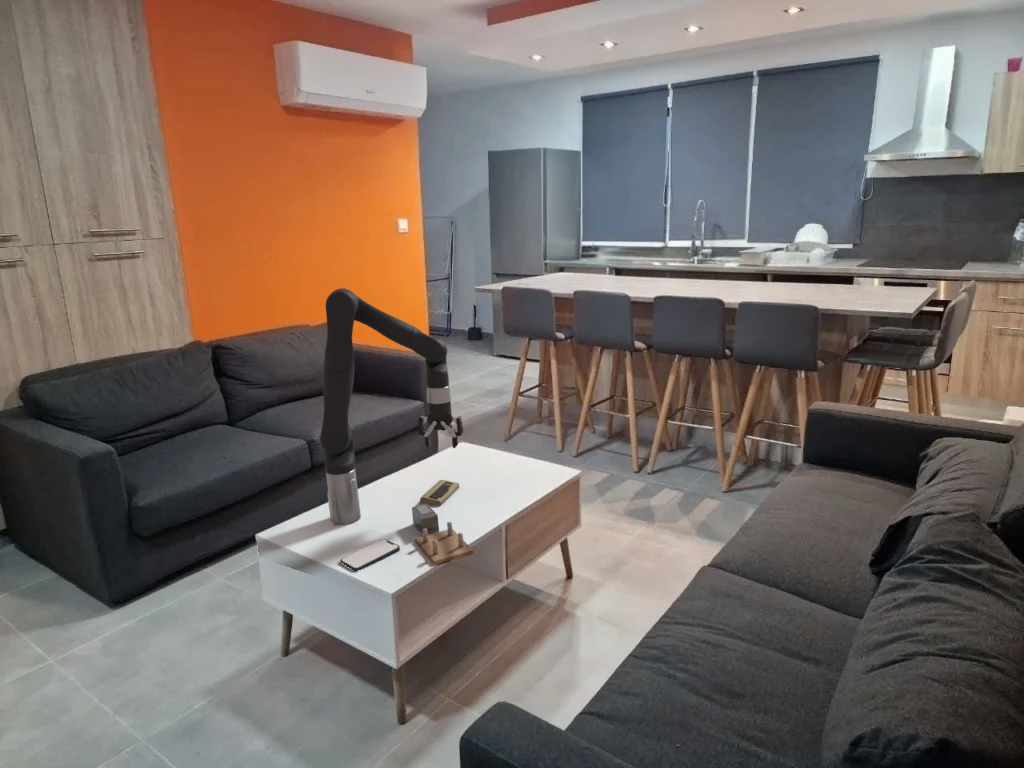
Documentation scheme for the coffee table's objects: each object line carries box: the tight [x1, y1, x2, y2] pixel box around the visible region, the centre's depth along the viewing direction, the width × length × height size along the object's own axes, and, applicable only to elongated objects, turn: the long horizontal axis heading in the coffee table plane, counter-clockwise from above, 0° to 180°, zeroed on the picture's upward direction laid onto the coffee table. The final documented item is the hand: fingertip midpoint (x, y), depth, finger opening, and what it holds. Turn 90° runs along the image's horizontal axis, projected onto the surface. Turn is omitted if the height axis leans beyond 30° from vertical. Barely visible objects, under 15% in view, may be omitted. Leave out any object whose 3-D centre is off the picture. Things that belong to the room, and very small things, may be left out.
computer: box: [419, 479, 460, 507], centre depth 233 cm, size 16×8×3 cm, turn 161°
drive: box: [411, 504, 440, 536], centre depth 209 cm, size 5×10×6 cm, turn 27°
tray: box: [414, 521, 474, 566], centre depth 196 cm, size 12×16×5 cm
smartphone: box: [339, 538, 401, 572], centre depth 194 cm, size 9×2×16 cm
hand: (441, 447), depth 219 cm, fingers open, 8 cm apart
